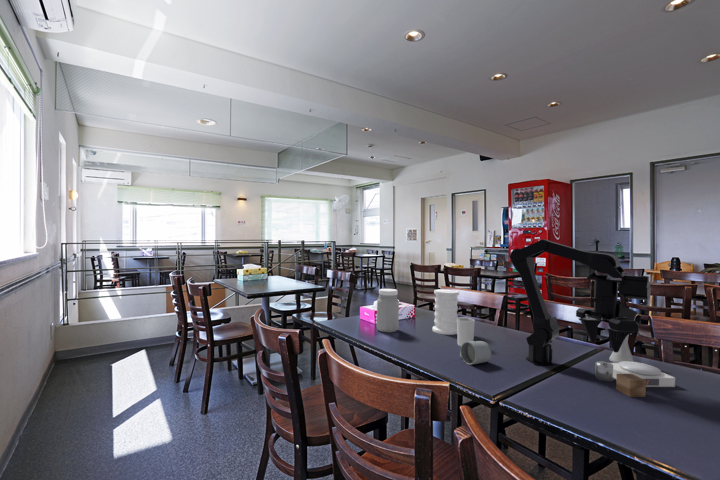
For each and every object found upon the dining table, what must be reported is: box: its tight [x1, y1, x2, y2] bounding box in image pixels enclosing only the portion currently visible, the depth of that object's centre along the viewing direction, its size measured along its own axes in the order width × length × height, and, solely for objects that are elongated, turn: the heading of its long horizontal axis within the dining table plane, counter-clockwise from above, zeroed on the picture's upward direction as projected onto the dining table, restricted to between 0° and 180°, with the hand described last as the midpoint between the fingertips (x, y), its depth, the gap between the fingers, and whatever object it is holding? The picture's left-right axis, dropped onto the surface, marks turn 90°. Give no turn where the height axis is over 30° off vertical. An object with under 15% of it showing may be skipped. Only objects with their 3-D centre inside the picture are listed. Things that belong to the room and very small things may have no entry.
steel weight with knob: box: [594, 360, 614, 382], centre depth 107 cm, size 4×4×5 cm
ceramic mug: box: [459, 340, 493, 366], centre depth 120 cm, size 10×8×7 cm
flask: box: [608, 334, 635, 363], centre depth 122 cm, size 7×7×10 cm
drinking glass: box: [456, 316, 476, 347], centre depth 138 cm, size 7×7×10 cm
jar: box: [376, 288, 400, 333], centre depth 158 cm, size 10×10×18 cm
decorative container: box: [431, 288, 460, 336], centre depth 158 cm, size 12×12×18 cm
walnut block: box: [615, 374, 647, 398], centre depth 97 cm, size 4×4×4 cm
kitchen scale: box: [610, 361, 676, 388], centre depth 107 cm, size 13×12×4 cm
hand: (604, 347), depth 107 cm, fingers open, 9 cm apart
